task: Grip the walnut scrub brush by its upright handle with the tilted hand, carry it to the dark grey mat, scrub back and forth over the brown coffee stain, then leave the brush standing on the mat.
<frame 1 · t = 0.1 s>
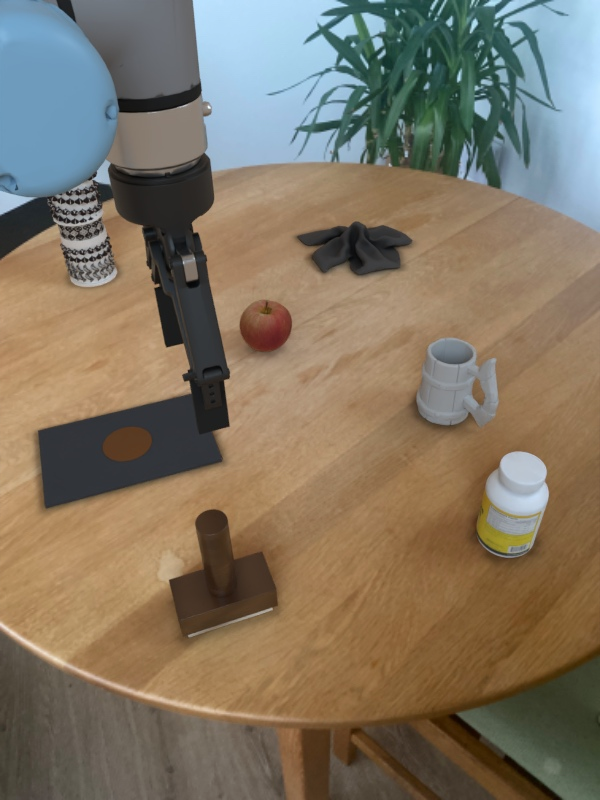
hand: (194, 382, 63), 23 cm above the table, tool pointing down, fingers open, 13 cm apart
decorative candle: (94, 275, 123), on the table
scrub brush: (225, 606, 71), on the table
cloth: (351, 250, 128), on the table
mug: (454, 416, 92), on the table
stain mat: (128, 447, 89), on the table
apple: (267, 345, 106), on the table
pill bottle: (503, 538, 77), on the table
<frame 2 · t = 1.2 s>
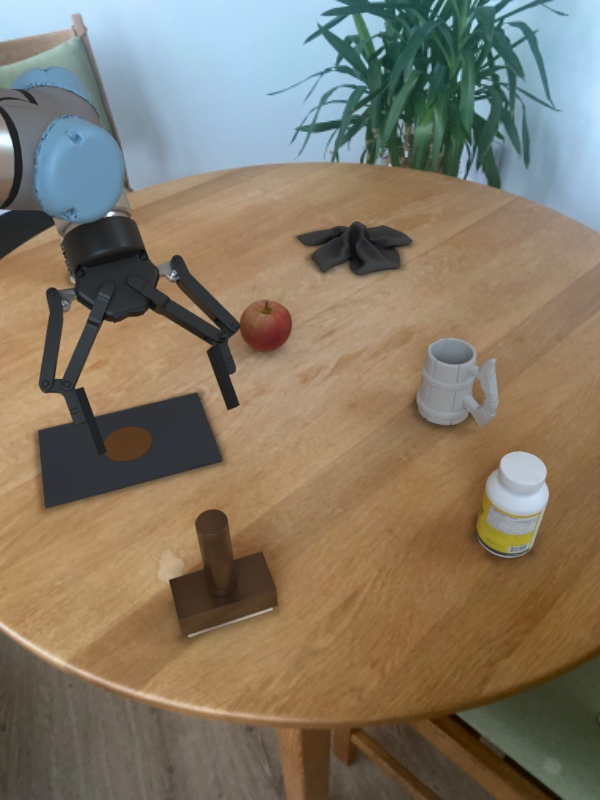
hand: (170, 430, 67), 17 cm above the table, tool tilted 45°, fingers open, 13 cm apart
nothing on the table moved.
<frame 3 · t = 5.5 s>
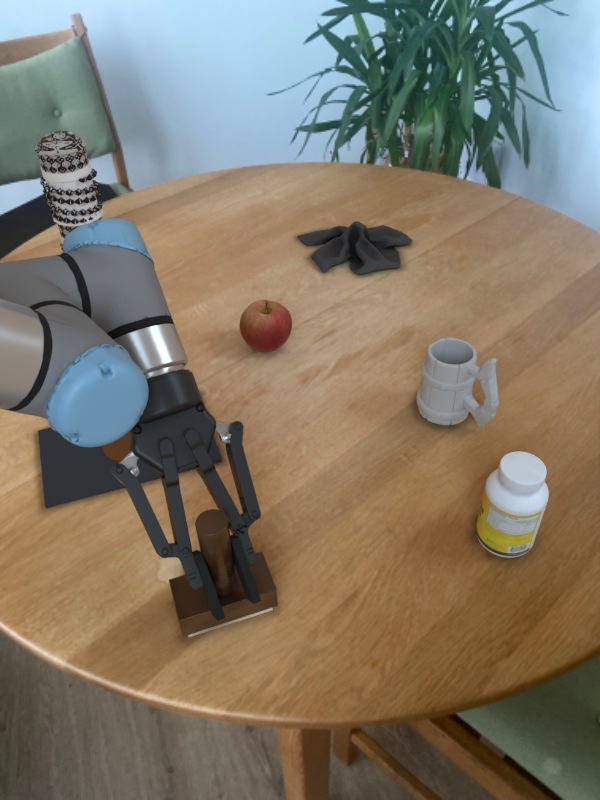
hand: (236, 607, 65), 5 cm above the table, tool tilted 45°, fingers closed on scrub brush, 3 cm apart
scrub brush: (225, 606, 71), on the table, touching gripper
everything else where it was.
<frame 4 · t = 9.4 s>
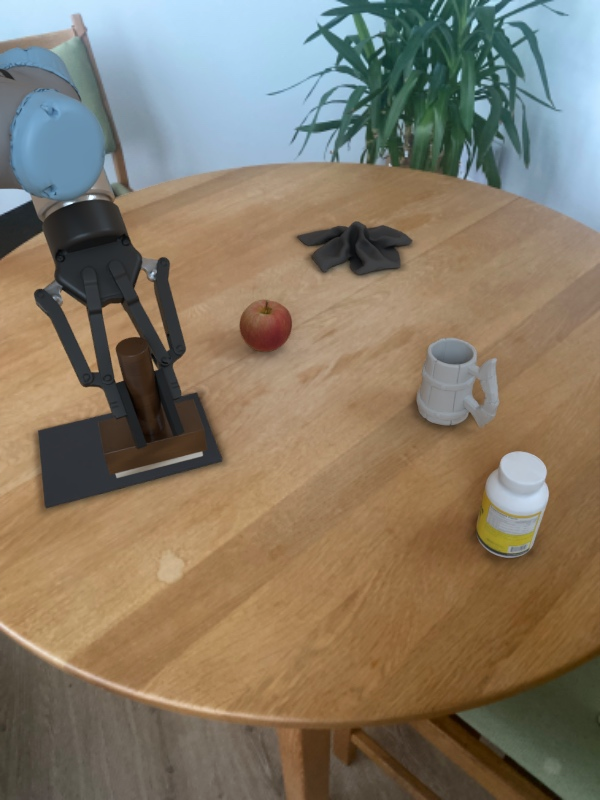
hand: (160, 440, 65), 17 cm above the table, tool tilted 45°, fingers closed on scrub brush, 3 cm apart
scrub brush: (156, 452, 71), point 12 cm above the table, touching gripper
everything else where it was.
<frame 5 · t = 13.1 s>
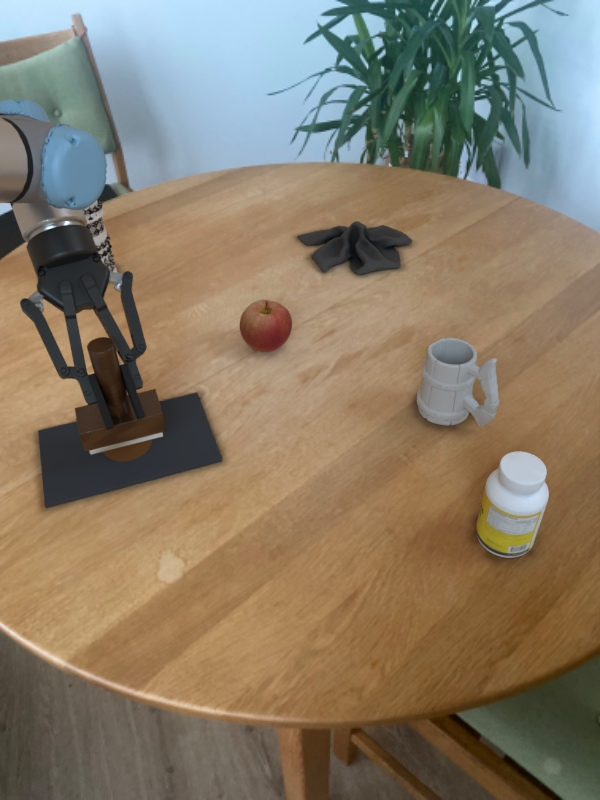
hand: (125, 422, 79), 9 cm above the table, tool tilted 45°, fingers closed on scrub brush, 3 cm apart
scrub brush: (124, 434, 85), point 4 cm above the table, touching gripper
everything else where it was.
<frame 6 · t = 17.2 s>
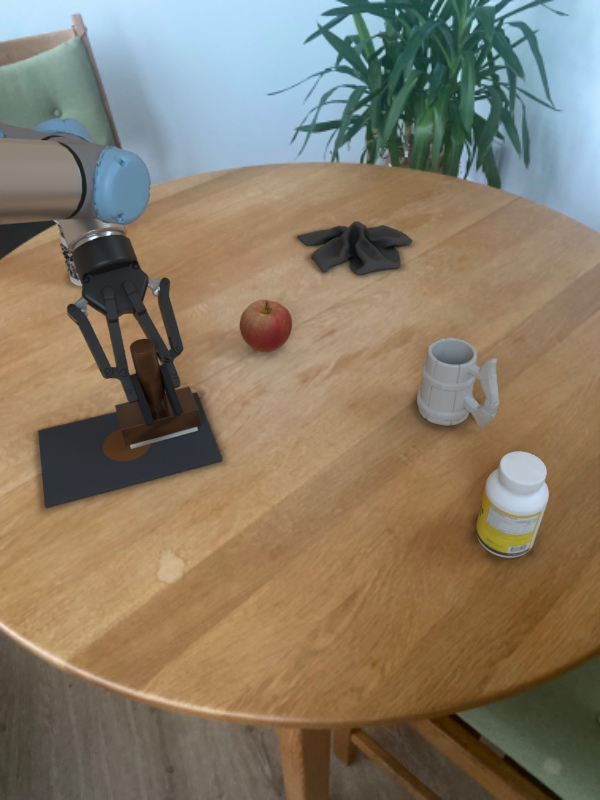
hand: (164, 419, 84), 6 cm above the table, tool tilted 45°, fingers closed on scrub brush, 3 cm apart
scrub brush: (161, 429, 90), point 1 cm above the table, touching gripper
everything else where it was.
when the fingers open (6 cm above the table, at t = 20.6 s): scrub brush stays where it is, resting on stain mat.
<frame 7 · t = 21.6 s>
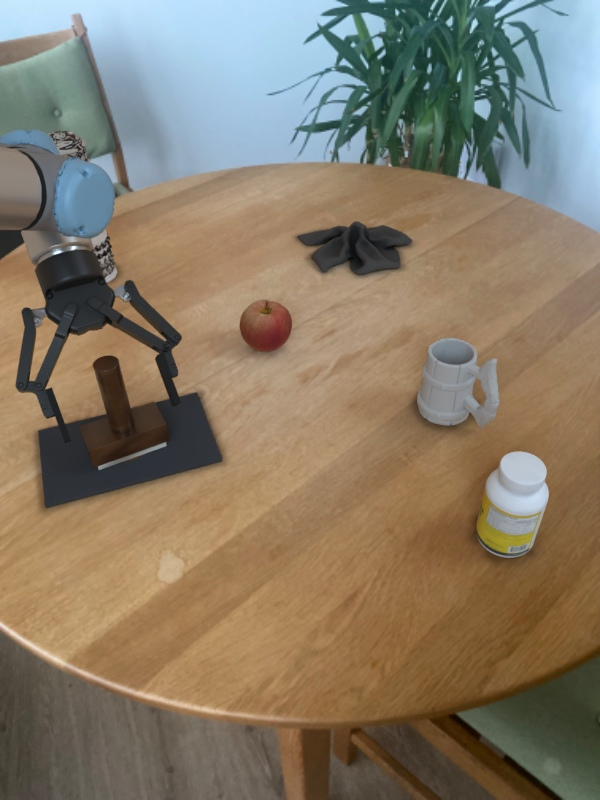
hand: (123, 422, 82), 7 cm above the table, tool tilted 45°, fingers open, 13 cm apart
scrub brush: (128, 447, 88), point 1 cm above the table, touching stain mat
everything else where it was.
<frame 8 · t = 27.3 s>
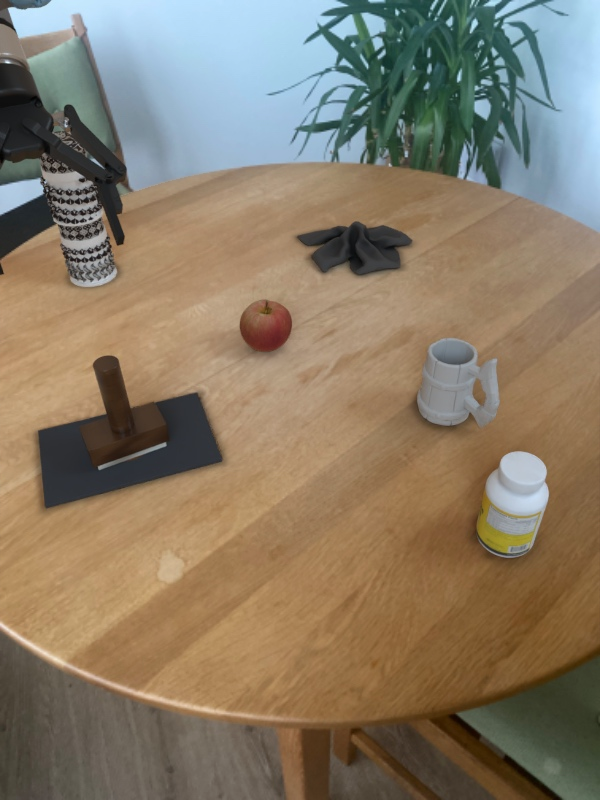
hand: (62, 256, 76), 26 cm above the table, tool tilted 45°, fingers open, 13 cm apart
nothing on the table moved.
at the end: scrub brush inside the target area on the stain mat (0.8 cm from its centre), point 0.7 cm above the stain mat's base; scrub brush tilted 0°; scrub brush moved 27.3 cm from its start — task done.
